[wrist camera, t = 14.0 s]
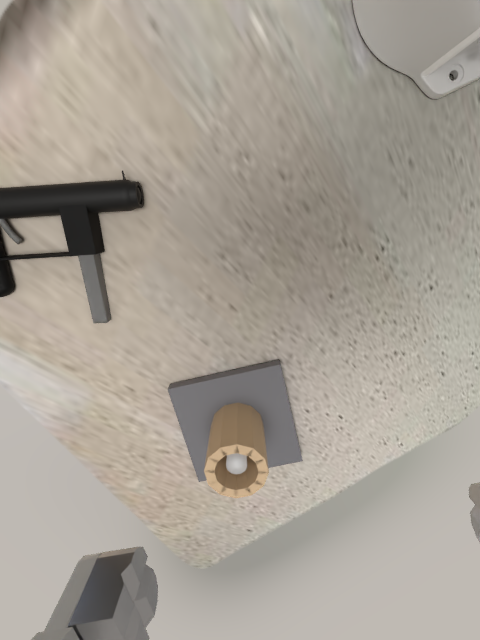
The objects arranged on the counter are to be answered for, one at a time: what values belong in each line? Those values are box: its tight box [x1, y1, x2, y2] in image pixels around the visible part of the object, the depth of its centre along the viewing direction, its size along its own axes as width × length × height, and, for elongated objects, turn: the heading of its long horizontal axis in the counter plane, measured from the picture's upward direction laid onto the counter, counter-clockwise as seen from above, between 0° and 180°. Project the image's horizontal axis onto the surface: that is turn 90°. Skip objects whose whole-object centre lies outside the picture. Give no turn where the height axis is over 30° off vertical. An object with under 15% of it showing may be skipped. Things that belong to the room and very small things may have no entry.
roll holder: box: [168, 360, 302, 482], centre depth 38 cm, size 14×14×8 cm
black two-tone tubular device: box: [0, 171, 144, 323], centre depth 36 cm, size 3×20×16 cm
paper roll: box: [204, 403, 269, 498], centre depth 37 cm, size 6×6×8 cm
